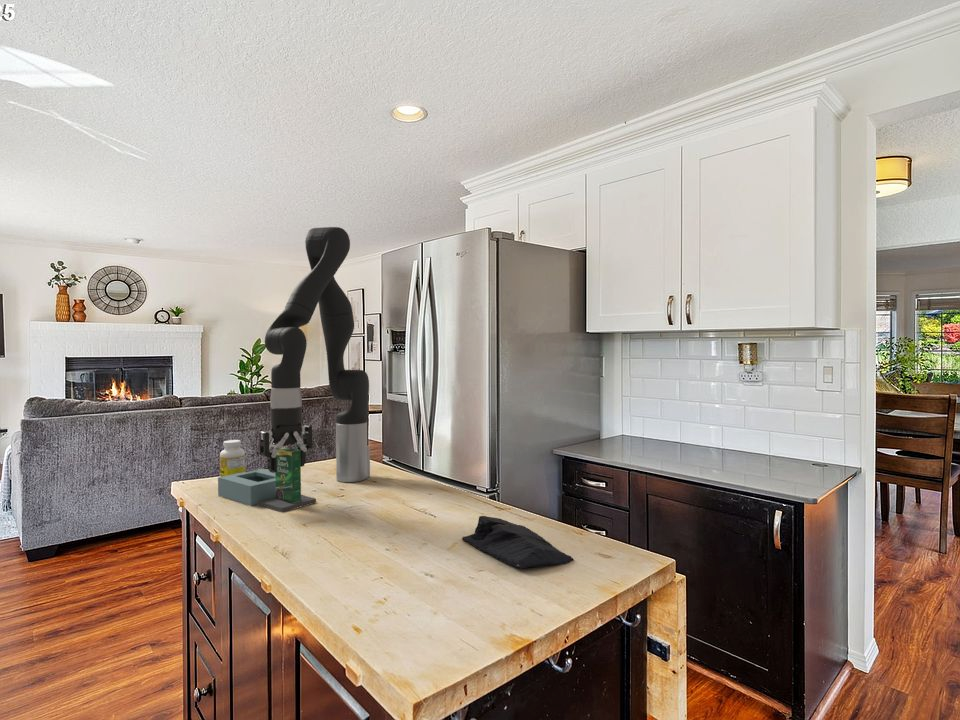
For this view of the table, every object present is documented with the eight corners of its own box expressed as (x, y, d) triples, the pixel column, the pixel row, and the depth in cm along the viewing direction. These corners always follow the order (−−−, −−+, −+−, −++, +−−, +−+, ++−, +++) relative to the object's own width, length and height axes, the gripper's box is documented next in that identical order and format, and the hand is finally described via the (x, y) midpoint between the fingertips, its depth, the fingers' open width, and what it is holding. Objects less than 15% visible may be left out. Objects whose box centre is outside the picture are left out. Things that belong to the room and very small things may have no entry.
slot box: (262, 485, 155) (262, 468, 155) (295, 494, 146) (295, 476, 146) (218, 495, 145) (217, 477, 145) (250, 505, 135) (250, 486, 135)
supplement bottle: (220, 483, 158) (219, 440, 158) (244, 481, 161) (244, 438, 161) (220, 488, 152) (219, 443, 152) (245, 486, 155) (244, 442, 154)
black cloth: (509, 580, 93) (508, 553, 93) (457, 539, 112) (457, 517, 112) (580, 564, 99) (580, 539, 99) (520, 528, 119) (520, 507, 119)
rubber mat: (292, 496, 144) (292, 492, 144) (316, 502, 138) (316, 498, 138) (258, 505, 136) (258, 501, 136) (281, 512, 130) (281, 508, 130)
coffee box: (274, 498, 138) (273, 447, 138) (284, 495, 141) (284, 446, 141) (291, 503, 133) (291, 451, 133) (301, 501, 136) (301, 449, 135)
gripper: (301, 402, 144) (302, 462, 145) (251, 407, 133) (252, 472, 133) (318, 403, 140) (319, 466, 140) (269, 409, 128) (270, 476, 129)
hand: (287, 469), depth 137 cm, fingers open, 7 cm apart
